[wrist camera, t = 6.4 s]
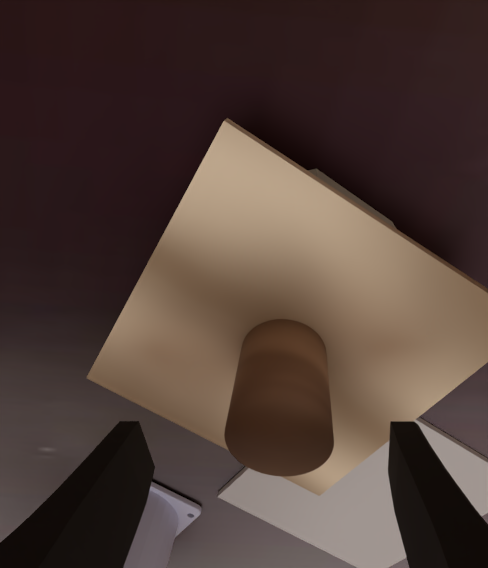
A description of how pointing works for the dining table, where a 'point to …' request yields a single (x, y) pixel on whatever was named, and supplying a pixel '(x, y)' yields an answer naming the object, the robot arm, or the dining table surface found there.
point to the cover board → (290, 319)
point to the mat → (354, 502)
